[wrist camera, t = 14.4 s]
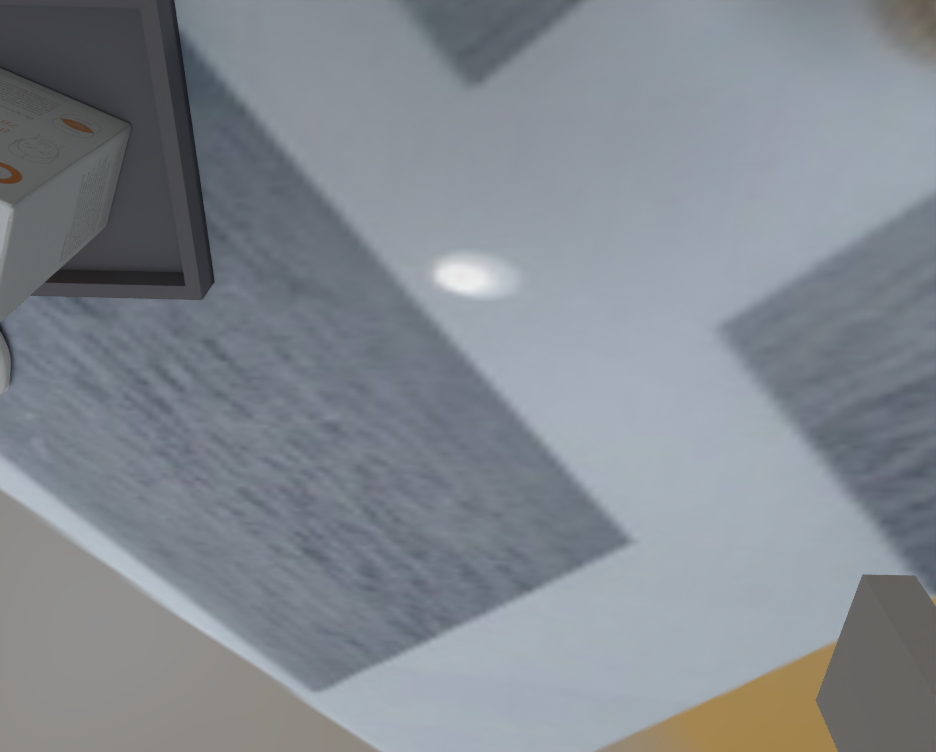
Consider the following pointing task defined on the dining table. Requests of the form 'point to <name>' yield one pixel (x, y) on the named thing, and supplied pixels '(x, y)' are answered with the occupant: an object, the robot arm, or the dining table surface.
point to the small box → (51, 182)
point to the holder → (148, 148)
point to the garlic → (4, 365)
